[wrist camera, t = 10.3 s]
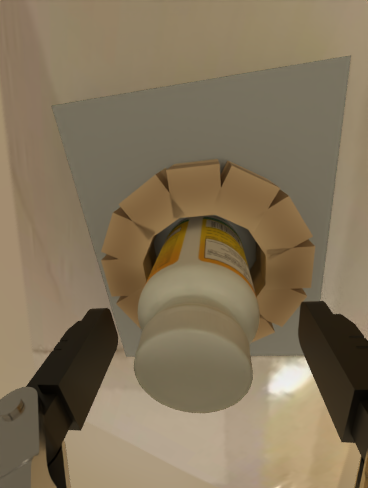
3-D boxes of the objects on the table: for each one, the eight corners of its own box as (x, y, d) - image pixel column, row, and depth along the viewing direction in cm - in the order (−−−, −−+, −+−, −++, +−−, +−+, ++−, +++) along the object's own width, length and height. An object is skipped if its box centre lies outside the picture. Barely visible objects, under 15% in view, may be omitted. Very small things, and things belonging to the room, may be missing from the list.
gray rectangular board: (65, 108, 15) (51, 105, 14) (335, 64, 13) (350, 55, 12) (131, 343, 23) (126, 356, 22) (306, 341, 21) (313, 355, 19)
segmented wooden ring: (101, 172, 15) (77, 180, 12) (301, 148, 13) (325, 151, 11) (138, 321, 20) (127, 350, 17) (290, 317, 18) (304, 348, 15)
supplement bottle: (239, 208, 15) (278, 306, 6) (244, 279, 17) (278, 427, 8) (157, 218, 16) (92, 317, 7) (171, 285, 18) (135, 424, 9)
